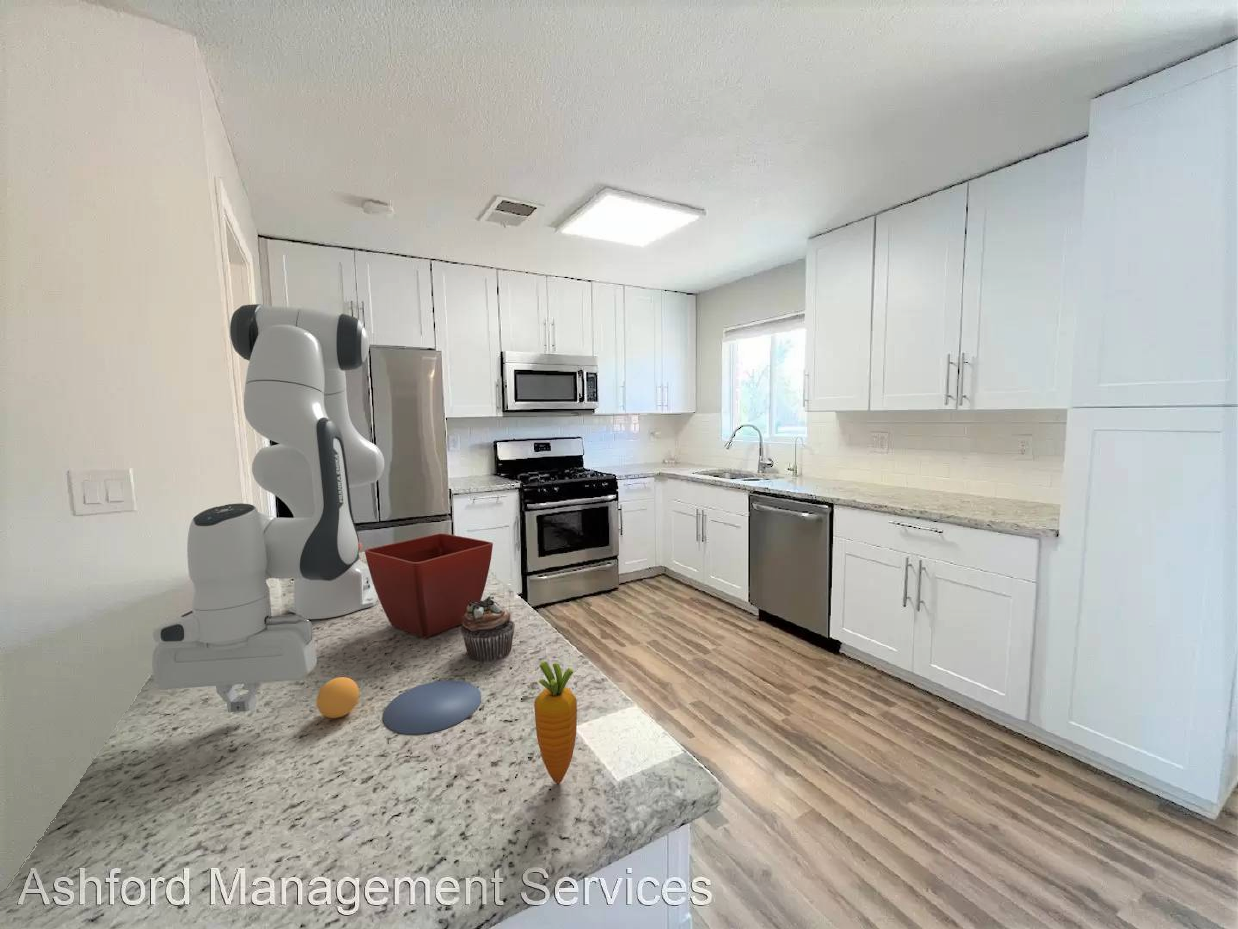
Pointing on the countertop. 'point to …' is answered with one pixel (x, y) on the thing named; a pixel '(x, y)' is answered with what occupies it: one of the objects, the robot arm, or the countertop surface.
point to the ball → (338, 697)
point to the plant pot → (429, 580)
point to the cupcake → (487, 630)
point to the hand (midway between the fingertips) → (242, 710)
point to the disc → (432, 707)
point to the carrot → (556, 721)
